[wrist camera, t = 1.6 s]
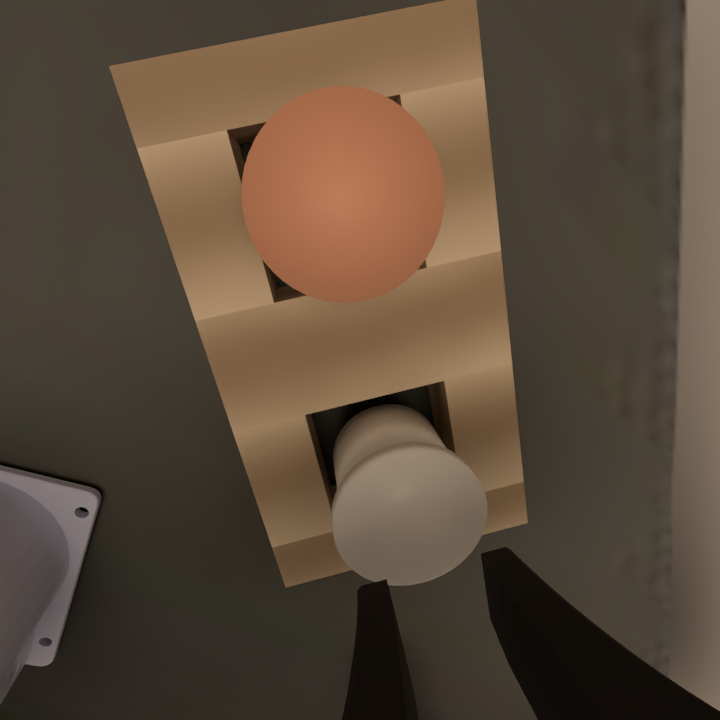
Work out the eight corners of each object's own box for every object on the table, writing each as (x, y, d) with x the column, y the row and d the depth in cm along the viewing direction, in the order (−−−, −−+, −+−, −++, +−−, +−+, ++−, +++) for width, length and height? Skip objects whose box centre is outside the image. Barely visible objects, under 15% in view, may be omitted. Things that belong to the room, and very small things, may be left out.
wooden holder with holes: (497, 481, 21) (527, 522, 18) (287, 536, 21) (285, 587, 18) (442, 34, 15) (475, -6, 12) (145, 93, 15) (108, 66, 12)
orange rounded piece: (416, 261, 15) (457, 279, 11) (278, 293, 15) (273, 321, 11) (391, 106, 13) (428, 66, 10) (237, 138, 13) (213, 110, 9)
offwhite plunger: (453, 488, 18) (495, 562, 14) (339, 518, 18) (351, 602, 14) (436, 383, 16) (477, 435, 13) (311, 413, 16) (316, 476, 12)
